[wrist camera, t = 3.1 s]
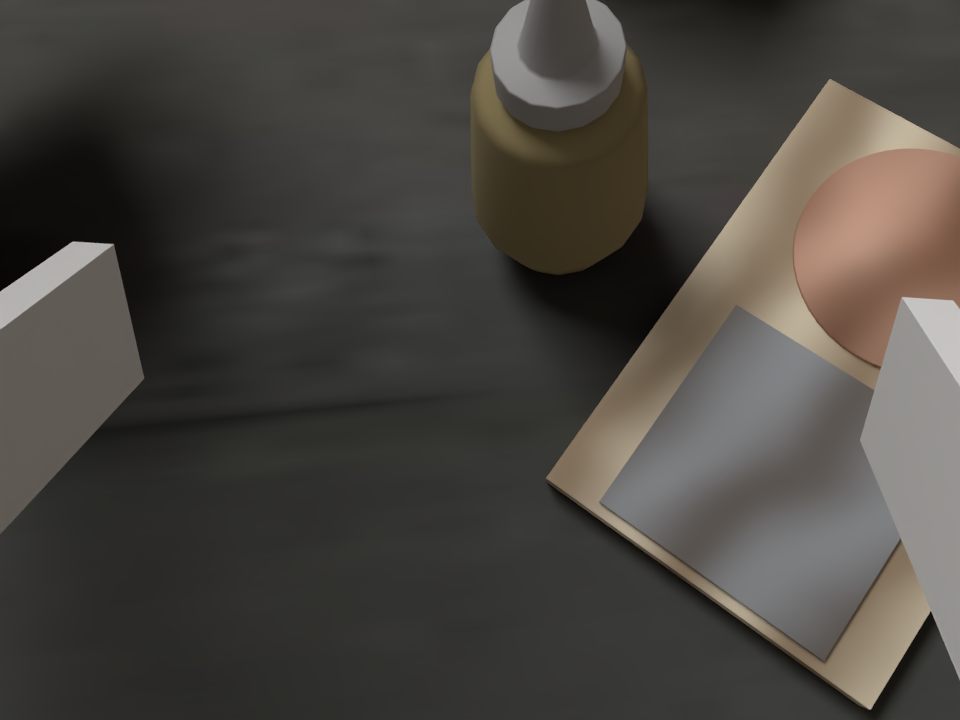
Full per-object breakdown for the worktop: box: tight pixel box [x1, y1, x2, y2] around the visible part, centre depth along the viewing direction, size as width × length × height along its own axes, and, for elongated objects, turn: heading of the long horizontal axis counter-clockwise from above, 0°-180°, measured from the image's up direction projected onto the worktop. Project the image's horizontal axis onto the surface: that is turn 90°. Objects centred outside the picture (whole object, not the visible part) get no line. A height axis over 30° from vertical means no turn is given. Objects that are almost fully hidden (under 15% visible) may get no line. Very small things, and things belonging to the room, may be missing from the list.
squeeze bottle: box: [471, 0, 648, 275], centre depth 34 cm, size 8×8×18 cm
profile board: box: [546, 79, 960, 710], centre depth 38 cm, size 16×24×2 cm, turn 144°
